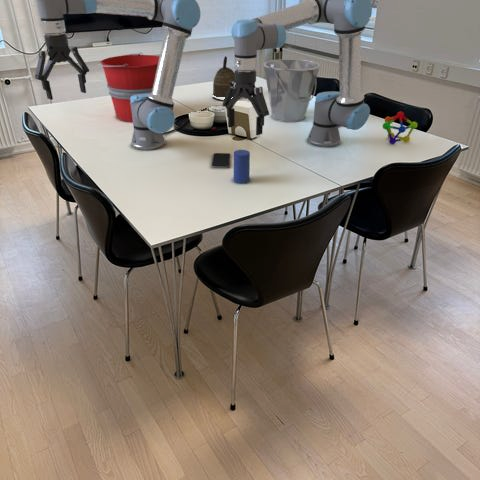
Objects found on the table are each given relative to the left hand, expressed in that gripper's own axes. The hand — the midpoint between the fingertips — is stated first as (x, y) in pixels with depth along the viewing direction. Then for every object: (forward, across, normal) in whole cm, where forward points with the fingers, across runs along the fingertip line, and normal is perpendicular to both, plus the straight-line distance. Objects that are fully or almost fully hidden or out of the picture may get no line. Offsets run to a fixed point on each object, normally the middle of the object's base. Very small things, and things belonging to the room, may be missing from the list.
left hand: (67, 95), depth 166 cm
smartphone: (+30, +45, -36) cm, 65 cm away
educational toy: (+30, +119, -80) cm, 146 cm away
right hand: (+10, +38, -56) cm, 68 cm away
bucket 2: (+30, +117, -18) cm, 122 cm away
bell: (+30, +124, +37) cm, 133 cm away
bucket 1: (+30, +62, +45) cm, 83 cm away
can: (+30, +37, -56) cm, 73 cm away
